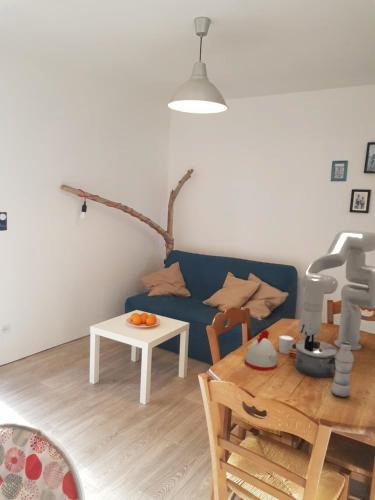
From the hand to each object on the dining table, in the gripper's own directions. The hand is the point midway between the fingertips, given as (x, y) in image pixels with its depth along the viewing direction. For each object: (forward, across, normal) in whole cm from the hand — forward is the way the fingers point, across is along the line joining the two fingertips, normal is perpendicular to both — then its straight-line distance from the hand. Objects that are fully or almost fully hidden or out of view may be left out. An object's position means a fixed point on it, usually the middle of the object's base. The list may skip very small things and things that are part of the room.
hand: (308, 349), depth 159 cm
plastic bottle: (+10, +6, +18) cm, 22 cm away
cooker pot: (+10, -6, +2) cm, 12 cm away
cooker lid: (+1, -6, 0) cm, 6 cm away
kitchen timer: (+11, +9, -17) cm, 22 cm away
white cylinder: (+10, -12, -19) cm, 25 cm away
